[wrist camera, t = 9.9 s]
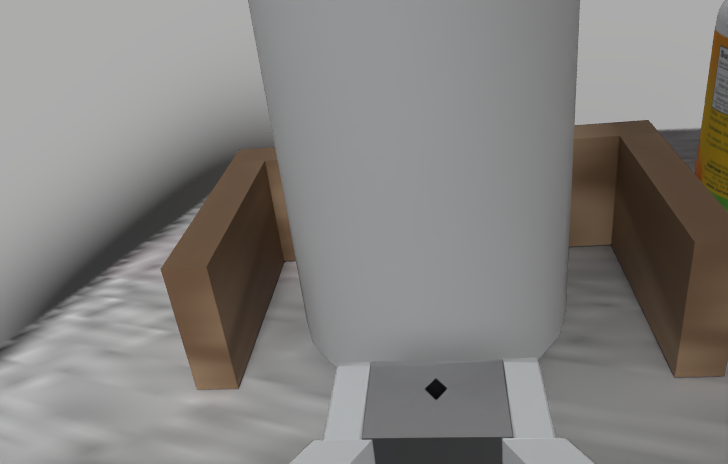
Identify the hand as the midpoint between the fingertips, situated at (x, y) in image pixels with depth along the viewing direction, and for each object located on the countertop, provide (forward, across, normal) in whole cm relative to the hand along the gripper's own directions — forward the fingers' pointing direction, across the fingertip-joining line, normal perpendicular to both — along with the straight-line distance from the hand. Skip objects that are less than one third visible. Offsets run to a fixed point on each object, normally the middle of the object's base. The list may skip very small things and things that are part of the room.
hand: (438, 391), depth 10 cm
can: (+8, 0, +5) cm, 10 cm away
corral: (+10, 0, +5) cm, 11 cm away
